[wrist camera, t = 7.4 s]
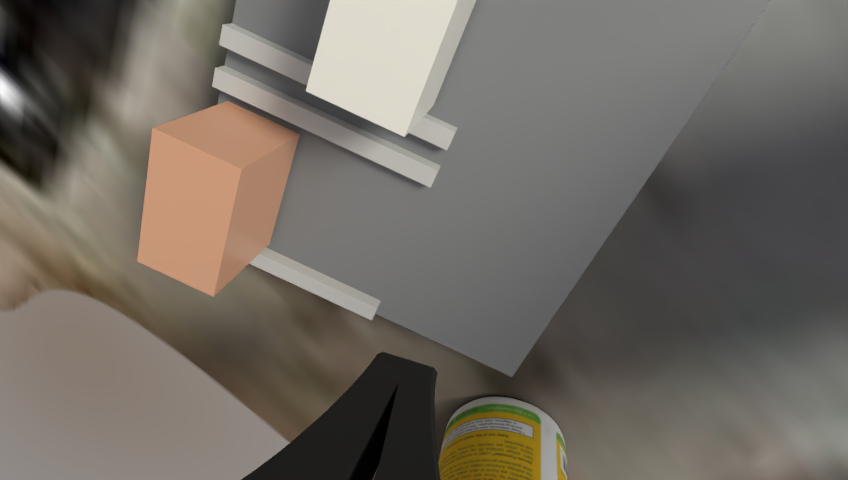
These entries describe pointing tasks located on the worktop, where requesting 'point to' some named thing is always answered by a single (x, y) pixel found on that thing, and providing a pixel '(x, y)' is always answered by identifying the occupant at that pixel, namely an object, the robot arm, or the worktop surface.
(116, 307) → the worktop surface
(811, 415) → the worktop surface
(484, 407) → the supplement bottle
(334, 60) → the ivory rectangular block
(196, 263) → the salmon orange block
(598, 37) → the switch panel
